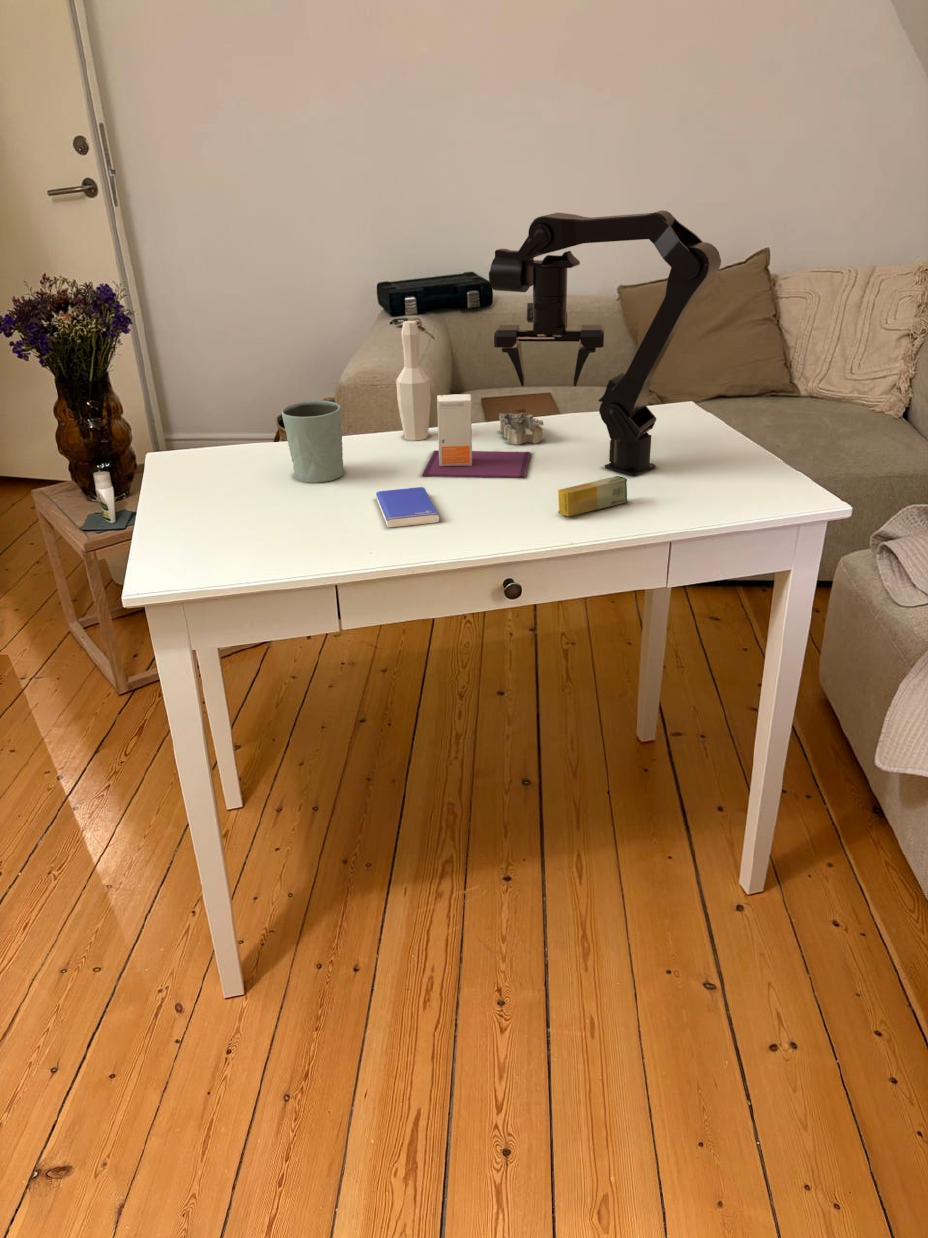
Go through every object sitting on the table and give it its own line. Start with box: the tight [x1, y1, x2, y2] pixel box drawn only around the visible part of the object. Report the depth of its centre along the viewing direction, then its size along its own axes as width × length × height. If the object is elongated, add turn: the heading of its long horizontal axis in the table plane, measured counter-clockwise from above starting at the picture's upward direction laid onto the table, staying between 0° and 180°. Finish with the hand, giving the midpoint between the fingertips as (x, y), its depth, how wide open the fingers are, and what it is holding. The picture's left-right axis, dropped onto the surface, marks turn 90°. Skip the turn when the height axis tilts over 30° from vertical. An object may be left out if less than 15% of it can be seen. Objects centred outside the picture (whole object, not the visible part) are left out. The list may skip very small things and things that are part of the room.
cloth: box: [421, 450, 531, 479], centre depth 175 cm, size 18×13×1 cm
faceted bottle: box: [395, 320, 431, 441], centre depth 185 cm, size 6×6×22 cm
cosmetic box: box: [436, 393, 473, 466], centre depth 172 cm, size 6×4×12 cm
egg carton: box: [498, 412, 545, 446], centre depth 188 cm, size 11×8×4 cm
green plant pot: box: [281, 400, 344, 484], centre depth 170 cm, size 10×10×12 cm
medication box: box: [557, 475, 628, 517], centre depth 153 cm, size 12×3×4 cm, turn 121°
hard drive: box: [375, 486, 440, 528], centre depth 156 cm, size 2×8×12 cm
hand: (548, 385), depth 172 cm, fingers open, 9 cm apart
